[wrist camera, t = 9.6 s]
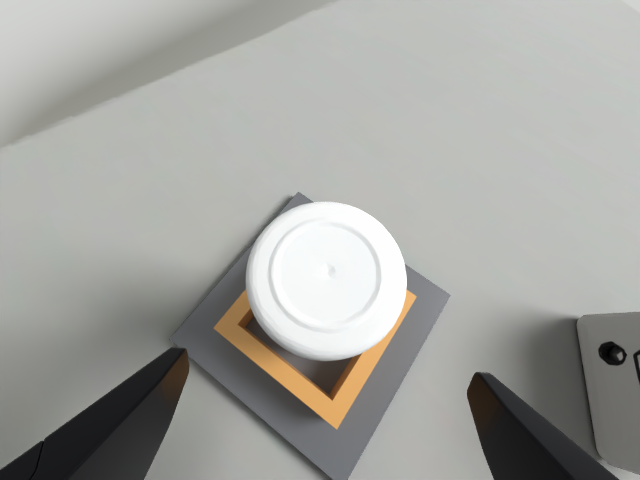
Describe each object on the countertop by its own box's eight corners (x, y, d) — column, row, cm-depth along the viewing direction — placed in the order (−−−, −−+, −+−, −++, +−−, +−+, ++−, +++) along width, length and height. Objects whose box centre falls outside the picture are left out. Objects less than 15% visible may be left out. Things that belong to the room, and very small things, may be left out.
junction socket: (341, 482, 18) (349, 509, 15) (174, 339, 20) (150, 337, 17) (445, 297, 22) (468, 288, 19) (298, 196, 25) (297, 174, 22)
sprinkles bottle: (338, 361, 20) (403, 380, 7) (271, 346, 20) (218, 341, 7) (350, 293, 21) (418, 212, 9) (288, 280, 21) (267, 182, 9)
